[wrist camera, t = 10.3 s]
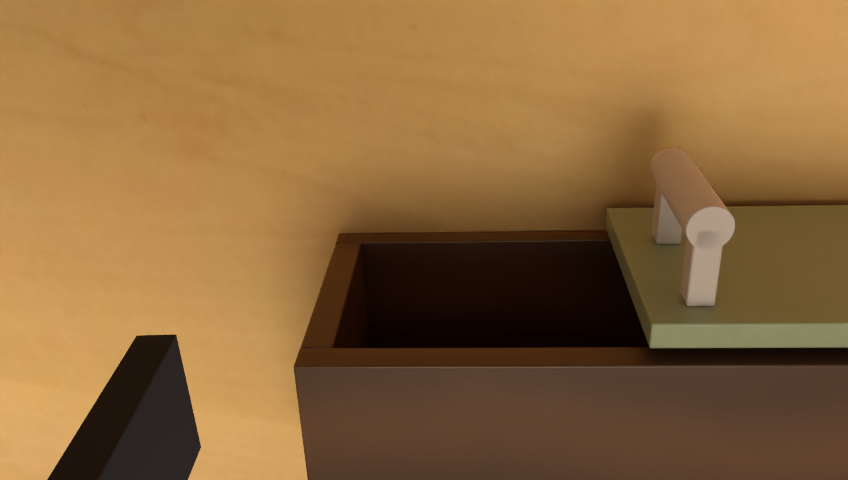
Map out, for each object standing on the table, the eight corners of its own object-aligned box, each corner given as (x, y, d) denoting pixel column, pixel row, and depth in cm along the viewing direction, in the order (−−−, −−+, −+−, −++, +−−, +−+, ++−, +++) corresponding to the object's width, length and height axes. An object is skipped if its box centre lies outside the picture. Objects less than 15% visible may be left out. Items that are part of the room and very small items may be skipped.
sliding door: (611, 125, 35) (661, 221, 26) (951, 118, 34) (1126, 215, 25) (604, 227, 37) (648, 349, 28) (925, 223, 36) (1078, 347, 27)
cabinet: (338, 233, 38) (293, 366, 28) (956, 225, 37) (1137, 364, 27) (356, 437, 43) (323, 610, 33) (899, 439, 42) (1033, 621, 32)
